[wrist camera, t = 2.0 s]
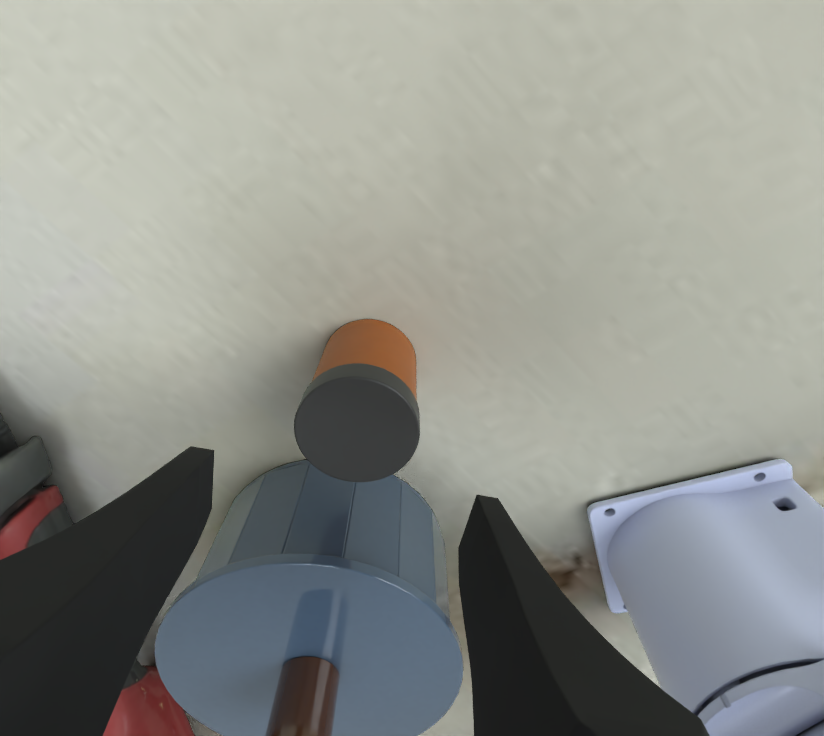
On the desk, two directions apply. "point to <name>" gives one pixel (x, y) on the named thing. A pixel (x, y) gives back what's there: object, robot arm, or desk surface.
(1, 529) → the hair straightener
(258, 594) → the pot lid
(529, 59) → the desk surface
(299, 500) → the pot
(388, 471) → the amber jar
